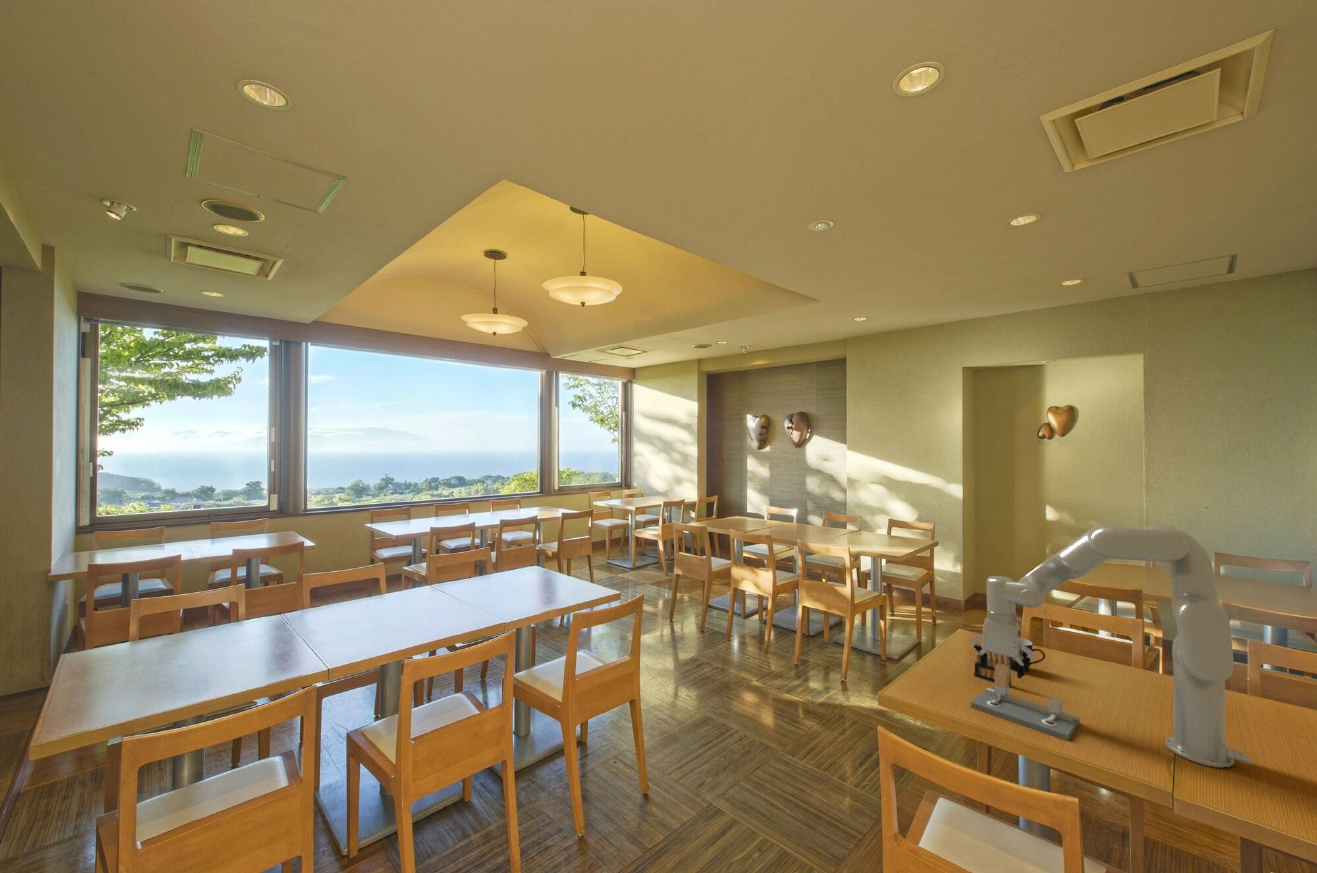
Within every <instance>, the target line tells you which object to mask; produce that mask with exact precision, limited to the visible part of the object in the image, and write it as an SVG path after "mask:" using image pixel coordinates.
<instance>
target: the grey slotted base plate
mask: <svg viewBox="0 0 1317 873" xmlns="http://www.w3.org/2000/svg"><path fill="white" fill-rule="evenodd" d="M996 698H997V693H994V688H993V689H992V688H989V687H987V688H985V690H984V691H983V692H981V693H980V694H979V695H978V696H977V697H975V699H973V700H972V701H971V702H970V708H972V709H976V710H978V711H981V712H983V713H986V714H989V715H992V716H995V717H998V718H1001V719H1004V720H1007V721H1010V722H1013V723H1016V724H1017V725H1021V726H1023V727H1027V728H1029V729H1032V730H1036V731H1038V732H1041V733H1044V734H1048V735H1050V736H1052V737H1055V738H1059V739H1061V740H1064V741H1067V742H1068V741H1069V740H1070V738H1071V737H1072V735H1073V734H1074V732H1075V731H1076V729H1077V728H1078V727H1079V725H1080V723H1081V722H1080V718H1079V717H1078V716H1077V717H1076V716H1074V714H1072V713H1068V712H1065V711H1063V699H1061V698H1057V697H1054V696H1051V697H1050V699H1049V700H1048V706H1046V705H1044V704H1040V703H1037V702H1033V701H1031V700H1027V699H1024V698H1020V697H1017V696H1014V695H1011V694H1010V693H1008V694H1007V695H1006V696H1003V695H1002V700H1001V701H1000V702H999V703H998V704H997V705H995V704H993V702H992V701H993V700H995V699H996Z"/></svg>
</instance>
